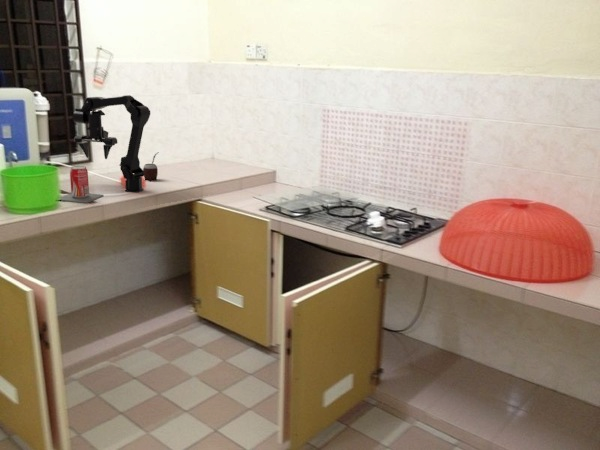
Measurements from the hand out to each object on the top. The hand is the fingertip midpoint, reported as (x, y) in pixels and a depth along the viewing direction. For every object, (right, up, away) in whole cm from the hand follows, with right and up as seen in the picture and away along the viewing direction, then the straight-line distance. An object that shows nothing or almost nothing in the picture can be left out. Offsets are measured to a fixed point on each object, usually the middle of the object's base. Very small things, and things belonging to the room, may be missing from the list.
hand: (96, 158), depth 257 cm
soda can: (+1, -19, -21) cm, 29 cm away
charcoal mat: (+1, -20, -21) cm, 29 cm away
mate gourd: (+20, -9, +20) cm, 30 cm away
